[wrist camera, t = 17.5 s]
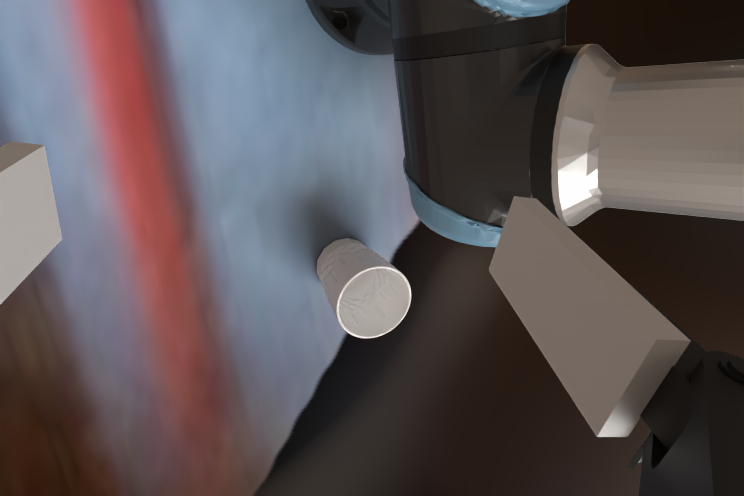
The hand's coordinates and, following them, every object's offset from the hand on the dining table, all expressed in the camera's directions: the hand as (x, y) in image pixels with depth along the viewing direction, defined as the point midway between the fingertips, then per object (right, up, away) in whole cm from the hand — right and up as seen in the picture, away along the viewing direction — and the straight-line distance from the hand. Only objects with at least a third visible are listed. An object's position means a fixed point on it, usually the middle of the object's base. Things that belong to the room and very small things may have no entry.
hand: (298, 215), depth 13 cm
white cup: (-1, -3, +40) cm, 40 cm away
